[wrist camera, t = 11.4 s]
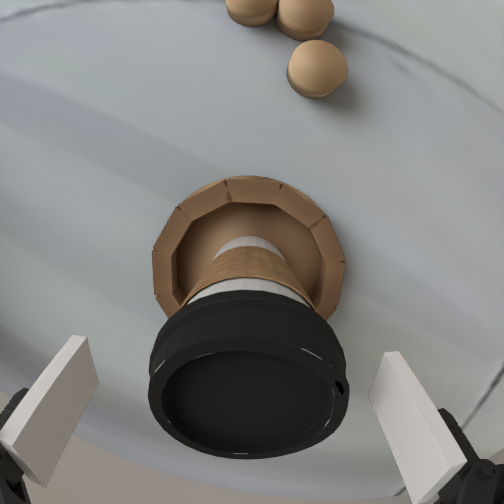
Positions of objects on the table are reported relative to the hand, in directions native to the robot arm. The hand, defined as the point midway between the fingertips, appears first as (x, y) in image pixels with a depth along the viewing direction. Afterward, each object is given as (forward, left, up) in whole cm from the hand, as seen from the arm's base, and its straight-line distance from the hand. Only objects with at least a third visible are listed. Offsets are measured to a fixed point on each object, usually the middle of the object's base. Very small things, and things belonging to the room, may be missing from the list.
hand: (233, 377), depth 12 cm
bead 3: (+4, +16, -14) cm, 21 cm away
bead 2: (+3, +21, -14) cm, 25 cm away
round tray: (0, 0, -13) cm, 13 cm away
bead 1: (-1, +22, -14) cm, 26 cm away
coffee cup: (+1, 0, -13) cm, 13 cm away
